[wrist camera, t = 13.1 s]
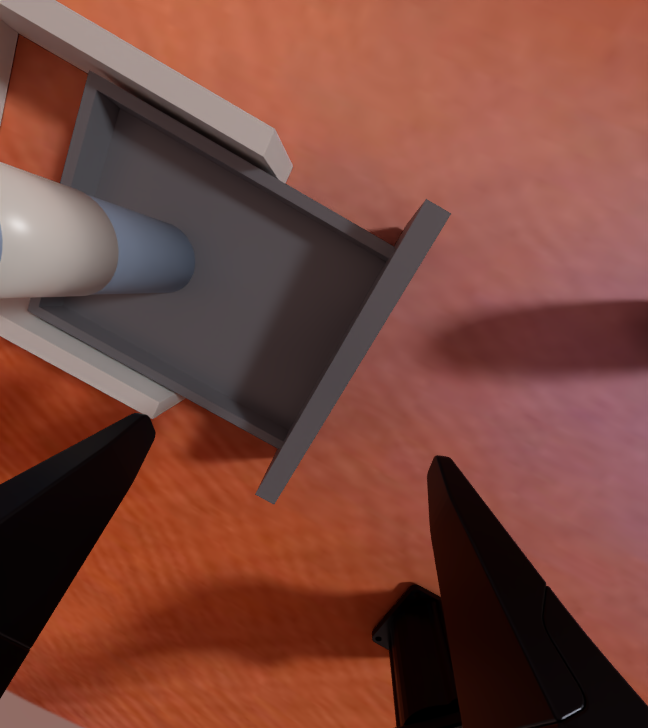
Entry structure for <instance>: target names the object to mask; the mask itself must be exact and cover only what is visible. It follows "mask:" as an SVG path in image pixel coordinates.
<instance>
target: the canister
mask: <svg viewBox="0 0 648 728" xmlns="http://www.w3.org/2000/svg"><path fill="white" fill-rule="evenodd" d="M194 269H195V255H194V251H193V248H192V245H191V243H190V241H189V239H188V238H187V237H186V235H185V234H184V233H183V232H182V231H181V230H180V229H178V228H177V227H175V226H174V225H172V224H169V223H166V222H163V221H161V220H158V219H155V218H152V217H149V216H146V215H144V214H141V213H138V212H135V211H132V210H129V209H127V208H124V207H121V206H118V205H115V204H112V203H110V202H107V201H104V200H101V199H98V198H95V197H93V196H90V195H87V194H85V193H83V192H81V191H79V190H77V189H74V188H71V187H68V186H66V185H63V184H60V183H57V182H55V181H52V180H49V179H46V178H43V177H41V176H38V175H35V174H32V173H29V172H27V171H24V170H21V169H18V168H15V167H13V166H10V165H7V164H4V163H2V162H0V298H32V297H67V296H87V295H95V294H136V293H170V292H175V291H178V290H180V289H182V288H183V287H184V286H186V285H187V284H188V282H189V281H190V279H191V278H192V276H193V273H194Z"/></svg>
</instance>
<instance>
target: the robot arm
mask: <svg viewBox="0 0 648 728" xmlns="http://www.w3.org/2000/svg"><path fill="white" fill-rule="evenodd" d="M154 438H155V430H154V427H153V425H152V422H151V420H150V417H149V416H148V415H146V414H140V413H134V414H131V415H129V416H127V417H125V418H124V419H122V420H120V421H118V422H116V423H114V424H112V425H110V426H109V427H107V428H105V429H103V430H101V431H99V432H97V433H96V434H94V435H92V436H90V437H88V438H86V439H84V440H82V441H81V442H79V443H77V444H75V445H73V446H71V447H69V448H67V449H66V450H64V451H62V452H60V453H58V454H56V455H54V456H53V457H51V458H49V459H47V460H45V461H43V462H41V463H39V464H38V465H36V466H34V467H32V468H30V469H28V470H26V471H24V472H23V473H21V474H19V475H17V476H15V477H13V478H11V479H10V480H8V481H6V482H4V483H2V484H0V698H1V697H2V695H3V693H4V692H5V690H6V688H7V687H8V685H9V684H10V682H11V680H12V679H13V677H14V675H15V674H16V672H17V671H18V669H19V667H20V666H21V664H22V662H23V661H24V659H25V658H26V656H27V654H28V653H29V651H30V648H31V647H32V646H33V644H34V643H35V641H36V639H37V638H38V636H39V634H40V633H41V631H42V630H43V628H44V626H45V625H46V623H47V622H48V620H49V618H50V617H51V615H52V613H53V612H54V610H55V609H56V607H57V605H58V604H59V602H60V600H61V599H62V597H63V596H64V594H65V592H66V591H67V589H68V587H69V586H70V584H71V583H72V581H73V579H74V578H75V576H76V574H77V573H78V571H79V570H80V568H81V566H82V565H83V563H84V561H85V560H86V558H87V557H88V555H89V553H90V552H91V550H92V548H93V547H94V545H95V544H96V542H97V540H98V539H99V537H100V535H101V534H102V532H103V531H104V529H105V527H106V526H107V524H108V523H109V521H110V519H111V518H112V516H113V514H114V513H115V511H116V510H117V508H118V506H119V505H120V503H121V501H122V500H123V498H124V497H125V495H126V493H127V492H128V490H129V488H130V487H131V485H132V483H133V481H134V479H135V478H136V476H137V474H138V472H139V469H140V467H141V465H142V463H143V461H144V459H145V457H146V455H147V453H148V451H149V449H150V447H151V445H152V443H153V441H154ZM427 485H428V503H429V521H430V533H431V540H432V546H433V552H434V558H435V564H436V570H437V576H438V582H439V588H440V594H441V597H439V596H438V595H436V594H434V593H432V592H430V591H428V590H427V589H425V588H423V587H421V586H419V585H412V586H410V587H409V589H408V590H407V591H406V592H405V593H404V595H403V596H402V597H401V598H400V599H399V600H398V602H397V603H396V604H395V605H394V606H393V607H392V609H391V610H390V611H389V612H388V613H387V614H386V616H385V617H384V618H383V619H382V620H381V622H380V623H379V624H378V625H377V626H376V627H375V629H374V630H373V631H372V640H373V641H374V642H375V643H377V644H379V645H380V646H382V647H384V648H386V649H388V650H389V655H390V665H391V675H392V686H393V696H394V706H395V716H396V727H395V728H648V706H647V705H646V703H645V702H644V701H643V700H642V699H641V698H640V696H639V695H638V694H637V693H636V692H635V691H634V690H633V688H632V687H631V686H630V685H629V684H628V683H627V681H626V680H625V679H624V678H623V677H622V676H621V675H620V673H619V672H618V671H617V670H616V669H615V668H614V666H613V665H612V664H611V663H610V662H609V661H608V659H607V658H606V657H605V656H604V655H603V653H602V652H601V651H600V650H599V649H598V647H597V646H596V645H595V644H594V643H593V642H592V640H591V639H590V638H589V637H588V636H587V634H586V633H585V632H584V631H583V629H582V628H581V627H580V626H579V624H578V623H577V622H576V621H575V619H574V618H573V617H572V616H571V614H570V613H569V612H568V611H567V609H566V608H565V607H564V605H563V604H562V603H561V602H560V600H559V599H558V598H557V596H556V595H555V594H554V592H553V591H552V590H551V588H550V587H549V586H546V582H545V581H544V579H543V578H542V577H541V576H540V574H539V573H538V572H537V570H536V569H535V568H534V566H533V565H532V564H531V562H530V561H529V560H528V559H527V557H526V556H525V555H524V553H523V552H522V551H521V549H520V548H519V547H518V545H517V544H516V543H515V542H514V540H513V539H512V538H511V536H510V535H509V534H508V532H507V531H506V530H505V528H504V527H503V526H502V524H501V523H500V522H499V521H498V519H497V518H496V517H495V515H494V514H493V513H492V511H491V510H490V509H489V507H488V506H487V505H486V504H485V502H484V501H483V500H482V498H481V497H480V496H479V494H478V493H477V492H476V490H475V489H474V488H473V486H472V485H471V484H470V483H469V481H468V480H467V479H466V477H465V476H464V475H463V473H462V472H461V471H460V469H459V468H458V467H457V466H456V464H455V463H454V462H453V460H452V459H451V458H449V457H446V456H439V455H436V456H435V457H434V459H433V461H432V463H431V466H430V468H429V471H428V474H427Z"/></svg>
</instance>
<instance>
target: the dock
mask: <svg viewBox="0 0 648 728" xmlns="http://www.w3.org/2000/svg"><path fill="white" fill-rule="evenodd" d="M18 33H19V34H20V35H22V36H24V37H26V38H27V39H29V40H31V41H32V42H34V43H36V44H38V45H39V46H41V47H43V48H45V49H46V50H48V51H50V52H51V53H53V54H55V55H57V56H58V57H60V58H62V59H64V60H65V61H67V62H69V63H70V64H72V65H74V66H76V67H77V68H79V69H81V70H83V71H84V72H86V73H89V70H90V71H92V72H94V73H95V74H97V75H99V76H101V77H102V78H104V79H106V80H108V81H109V82H111V83H113V84H114V85H116V86H118V87H120V88H121V89H123V90H125V91H127V92H128V93H130V94H132V95H133V96H135V97H137V98H139V99H140V100H142V101H144V102H145V103H147V104H149V105H151V106H152V107H154V108H156V109H158V110H159V111H161V112H163V113H164V114H166V115H168V116H170V117H171V118H173V119H175V120H176V121H178V122H180V123H182V124H183V125H185V126H187V127H189V128H190V129H192V130H194V131H195V132H197V133H199V134H201V135H202V136H204V137H206V138H208V139H209V140H211V141H213V142H214V143H216V144H218V145H220V146H221V147H223V148H225V149H226V150H228V151H230V152H232V153H233V154H235V155H237V156H239V157H240V158H242V159H244V160H245V161H247V162H249V163H251V164H252V165H254V166H256V167H258V168H259V169H261V170H263V171H264V172H266V173H268V174H270V175H271V176H273V177H275V178H276V179H278V180H280V181H282V182H283V183H286V181H287V179H288V177H289V174H290V172H291V170H292V168H293V165H292V163H291V161H290V159H289V157H288V155H287V153H286V151H285V149H284V147H283V145H282V142H281V140H280V138H279V136H278V134H277V132H276V130H275V129H274V128H272V127H271V126H269V125H267V124H266V123H264V122H262V121H260V120H259V119H257V118H255V117H254V116H252V115H250V114H248V113H247V112H245V111H243V110H242V109H240V108H238V107H236V106H235V105H233V104H231V103H230V102H228V101H226V100H225V99H223V98H221V97H219V96H218V95H216V94H214V93H213V92H211V91H209V90H207V89H206V88H204V87H202V86H201V85H199V84H197V83H196V82H194V81H192V80H190V79H189V78H187V77H185V76H184V75H182V74H180V73H178V72H177V71H175V70H173V69H172V68H170V67H168V66H166V65H165V64H163V63H161V62H160V61H158V60H156V59H155V58H153V57H151V56H149V55H148V54H146V53H144V52H143V51H141V50H139V49H137V48H136V47H134V46H132V45H131V44H129V43H127V42H125V41H124V40H122V39H120V38H119V37H117V36H115V35H114V34H112V33H110V32H108V31H107V30H105V29H103V28H102V27H100V26H98V25H96V24H95V23H93V22H91V21H90V20H88V19H86V18H85V17H83V16H81V15H79V14H78V13H76V12H74V11H73V10H71V9H69V8H67V7H66V6H64V5H62V4H61V3H59V2H57V1H55V0H0V124H1V119H2V114H3V109H4V104H5V99H6V94H7V89H8V83H9V78H10V73H11V68H12V63H13V58H14V53H15V48H16V43H17V38H18ZM29 302H30V298H0V336H1V337H3V338H5V339H7V340H8V341H10V342H12V343H14V344H16V345H18V346H19V347H21V348H23V349H25V350H27V351H29V352H30V353H32V354H34V355H36V356H38V357H40V358H41V359H43V360H45V361H47V362H49V363H51V364H52V365H54V366H56V367H58V368H60V369H62V370H63V371H65V372H67V373H69V374H71V375H73V376H74V377H76V378H78V379H80V380H82V381H84V382H85V383H87V384H89V385H91V386H93V387H95V388H96V389H98V390H100V391H102V392H104V393H106V394H107V395H109V396H111V397H113V398H115V399H117V400H118V401H120V402H122V403H124V404H126V405H127V406H129V407H131V408H133V409H135V410H137V411H138V412H140V413H142V414H146V415H148V416H149V417H150V418H151V419H154V418H155V417H157V416H158V415H160V414H162V413H163V412H165V411H166V410H168V409H170V408H171V407H173V406H174V405H176V404H178V403H179V402H181V401H182V400H184V399H186V398H185V397H183V396H181V395H179V394H178V393H176V392H174V391H172V390H170V389H169V388H167V387H165V386H163V385H161V384H159V383H158V382H156V381H154V380H152V379H150V378H149V377H147V376H145V375H143V374H141V373H139V372H138V371H136V370H134V369H132V368H130V367H129V366H127V365H125V364H123V363H121V362H119V361H118V360H116V359H114V358H112V357H110V356H109V355H107V354H105V353H103V352H101V351H99V350H98V349H96V348H94V347H92V346H90V345H89V344H87V343H85V342H83V341H81V340H80V339H78V338H76V337H74V336H72V335H70V334H69V333H67V332H65V331H63V330H61V329H60V328H58V327H56V326H54V325H52V324H50V323H49V322H47V321H45V320H43V319H41V318H40V317H38V316H36V315H34V314H32V313H30V312H29V311H27V310H28V306H29Z"/></svg>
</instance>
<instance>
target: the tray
mask: <svg viewBox="0 0 648 728" xmlns="http://www.w3.org/2000/svg"><path fill="white" fill-rule="evenodd" d="M60 184H63V185H66V186H68V187H71V188H74V189H77V190H79V191H81V192H83V193H85V194H87V195H90V196H93V197H95V198H98V199H101V200H104V201H107V202H110V203H112V204H115V205H118V206H121V207H124V208H127V209H129V210H132V211H135V212H138V213H141V214H144V215H146V216H149V217H152V218H155V219H158V220H161V221H163V222H166V223H169V224H172V225H174V226H175V227H177V228H178V229H180V230H181V231H182V232H183V233H184V234H185V235H186V237H187V238H188V239H189V241H190V243H191V245H192V248H193V251H194V255H195V269H194V273H193V276H192V278H191V279H190V281H189V282H188V284H187V285H186V286H184V287H183V288H182V289H180V290H178V291H175V292H170V293H136V294H95V295H87V296H67V297H32V298H30V302H29V306H28V310H27V311H29V312H30V313H32V314H34V315H36V316H38V317H40V318H41V319H43V320H45V321H47V322H49V323H50V324H52V325H54V326H56V327H58V328H60V329H61V330H63V331H65V332H67V333H69V334H70V335H72V336H74V337H76V338H78V339H80V340H81V341H83V342H85V343H87V344H89V345H90V346H92V347H94V348H96V349H98V350H99V351H101V352H103V353H105V354H107V355H109V356H110V357H112V358H114V359H116V360H118V361H119V362H121V363H123V364H125V365H127V366H129V367H130V368H132V369H134V370H136V371H138V372H139V373H141V374H143V375H145V376H147V377H149V378H150V379H152V380H154V381H156V382H158V383H159V384H161V385H163V386H165V387H167V388H169V389H170V390H172V391H174V392H176V393H178V394H179V395H181V396H183V397H185V398H187V399H189V400H190V401H192V402H194V403H196V404H198V405H199V406H201V407H203V408H205V409H207V410H209V411H210V412H212V413H214V414H216V415H218V416H219V417H221V418H223V419H225V420H227V421H229V422H230V423H232V424H234V425H236V426H238V427H239V428H241V429H243V430H245V431H247V432H249V433H250V434H252V435H254V436H256V437H258V438H259V439H261V440H263V441H265V442H267V443H269V444H270V445H272V446H274V447H276V448H278V449H277V451H276V453H275V455H274V457H273V459H272V461H271V463H270V465H269V467H268V469H267V471H266V473H265V475H264V478H263V480H262V482H261V484H260V486H259V488H258V490H257V492H256V495H257V496H259V497H261V498H263V499H265V500H267V501H268V502H270V503H272V504H275V502H276V501H277V499H278V497H279V496H280V494H281V492H282V491H283V489H284V487H285V486H286V484H287V483H288V481H289V479H290V478H291V476H292V474H293V473H294V471H295V469H296V468H297V466H298V464H299V463H300V461H301V460H302V458H303V456H304V455H305V453H306V451H307V450H308V448H309V446H310V445H311V443H312V441H313V440H314V438H315V437H316V435H317V433H318V432H319V430H320V428H321V427H322V425H323V423H324V422H325V420H326V418H327V417H328V415H329V414H330V412H331V410H332V409H333V407H334V405H335V404H336V402H337V400H338V399H339V397H340V395H341V394H342V392H343V391H344V389H345V387H346V386H347V384H348V382H349V381H350V379H351V377H352V376H353V374H354V372H355V371H356V369H357V368H358V366H359V364H360V363H361V361H362V359H363V358H364V356H365V354H366V353H367V351H368V349H369V348H370V346H371V345H372V343H373V341H374V340H375V338H376V336H377V335H378V333H379V331H380V330H381V328H382V326H383V325H384V323H385V322H386V320H387V318H388V317H389V315H390V313H391V312H392V310H393V308H394V307H395V305H396V303H397V302H398V300H399V298H400V297H401V295H402V294H403V292H404V290H405V289H406V287H407V285H408V284H409V282H410V280H411V279H412V277H413V275H414V274H415V272H416V271H417V269H418V267H419V266H420V264H421V262H422V261H423V259H424V257H425V256H426V254H427V252H428V251H429V249H430V248H431V246H432V244H433V243H434V241H435V239H436V238H437V236H438V234H439V233H440V231H441V229H442V228H443V226H444V225H445V223H446V221H447V220H448V218H449V216H450V215H451V213H449V212H448V211H446V210H444V209H442V208H441V207H439V206H437V205H436V204H434V203H432V202H431V201H429V200H427V199H426V200H425V201H424V203H423V204H422V205H421V207H420V208H419V209H418V210H417V212H416V213H415V214H414V216H413V217H412V218H411V220H410V221H409V222H408V223H407V225H406V227H405V228H404V230H403V232H402V234H401V235H400V237H399V239H398V241H397V242H396V244H395V246H392V245H390V244H388V243H387V242H385V241H383V240H382V239H380V238H378V237H376V236H375V235H373V234H371V233H370V232H368V231H366V230H364V229H363V228H361V227H359V226H357V225H356V224H354V223H352V222H351V221H349V220H347V219H345V218H344V217H342V216H340V215H339V214H337V213H335V212H333V211H332V210H330V209H328V208H326V207H325V206H323V205H321V204H320V203H318V202H316V201H314V200H313V199H311V198H309V197H307V196H306V195H304V194H302V193H301V192H299V191H297V190H295V189H294V188H292V187H290V186H289V185H287V184H285V183H283V182H282V181H280V180H278V179H276V178H275V177H273V176H271V175H270V174H268V173H266V172H264V171H263V170H261V169H259V168H258V167H256V166H254V165H252V164H251V163H249V162H247V161H245V160H244V159H242V158H240V157H239V156H237V155H235V154H233V153H232V152H230V151H228V150H226V149H225V148H223V147H221V146H220V145H218V144H216V143H214V142H213V141H211V140H209V139H208V138H206V137H204V136H202V135H201V134H199V133H197V132H195V131H194V130H192V129H190V128H189V127H187V126H185V125H183V124H182V123H180V122H178V121H176V120H175V119H173V118H171V117H170V116H168V115H166V114H164V113H163V112H161V111H159V110H158V109H156V108H154V107H152V106H151V105H149V104H147V103H145V102H144V101H142V100H140V99H139V98H137V97H135V96H133V95H132V94H130V93H128V92H127V91H125V90H123V89H121V88H120V87H118V86H116V85H114V84H113V83H111V82H109V81H108V80H106V79H104V78H102V77H101V76H99V75H97V74H95V73H94V72H92V71H90V70H89V73H88V77H87V81H86V84H85V88H84V92H83V96H82V100H81V104H80V108H79V112H78V115H77V119H76V123H75V127H74V131H73V135H72V139H71V143H70V147H69V150H68V154H67V158H66V162H65V166H64V170H63V174H62V178H61V181H60Z"/></svg>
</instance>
